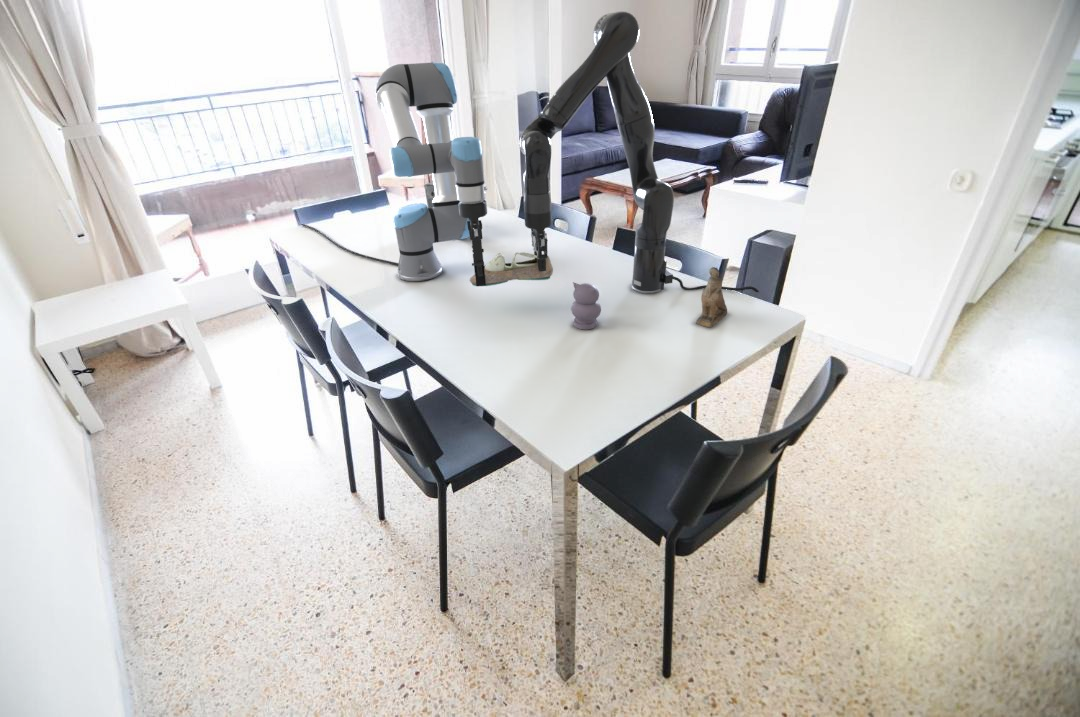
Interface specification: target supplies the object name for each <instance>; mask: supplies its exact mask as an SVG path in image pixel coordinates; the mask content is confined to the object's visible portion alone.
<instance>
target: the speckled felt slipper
mask: <svg viewBox="0 0 1080 717" xmlns="http://www.w3.org/2000/svg"><path fill="white" fill-rule="evenodd" d="M517 255H519V256H522V257H527V258H531V259H528V260H524V261H517V262H516V261H515V260H516V256H517ZM534 258H535V259H534ZM484 271H485V281H486V286H485V287H491V286H496V285H500V284H505V283H508V282H509V281H514V280H518V281H519V280H521V281H547V280H549V279H551V276H553V273H554V267H553V265H552V262H551V259H550V256H548V257H547V258H546V271H539V270H538V258H537V256H536V255H534V253H531V252H530V253H529V252H525V251H521V252H519V251H517V252H514V255H513V258H512V261H511V262H506V260H505V256H504V254H503V253H499V252H498V253H497V255H495V256H494V257H493V258H492V259H491V260H489V261H488V262H487V263H486V264H484ZM469 283H471V285H472V286H474V287H476V278H475V274H473V275H472V276H471V277H470V278H469Z"/></svg>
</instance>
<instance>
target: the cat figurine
mask: <svg viewBox="0 0 1080 717" xmlns="http://www.w3.org/2000/svg"><path fill="white" fill-rule="evenodd" d="M572 284H573V288H574V290H573V298H574V301H573V302H572V304H571V306H570V312H571V314H572V316H573V317H574V318H573V326H574V327H575V328H577V329H578V330H579V329H580V330H585V331H586V330H592V329H594V328H596V327H597V324H598V319H597V318H598V317H600V315H601V312H602V307H601V304H600V303H599V302H598V300H599V298H600V291H599V290H598V287H596V286H595V285H593V284H591V283H589V282H588V283H587V282H583V283H580V284H579V283H577V282H575V281H573V282H572Z"/></svg>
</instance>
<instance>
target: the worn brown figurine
mask: <svg viewBox="0 0 1080 717" xmlns="http://www.w3.org/2000/svg"><path fill="white" fill-rule="evenodd" d="M708 273H709V275H710V276H709V278H708V279H707V280H708V281H707V284H706V285H707V287H705V288H702V289H703V290H702V292H701V297H700V298H701V309H702V312H701V315H700V316H699V317H698V318H697V319H696V321H695V324H696V325H699V326H703V327H705V328H712V327H714V326H715V325H716V324H717V323H719V321H721V320H722V319H723V318H725V317H726V316H727V315H728V307H727V304H726V301H725V298H724V293H723V289H721V288H722V286H723V281H722V279H721V278H720V270H719V269H718V268H717V267H715V266H712V267H711V268H710V269H709V270H708Z"/></svg>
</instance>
